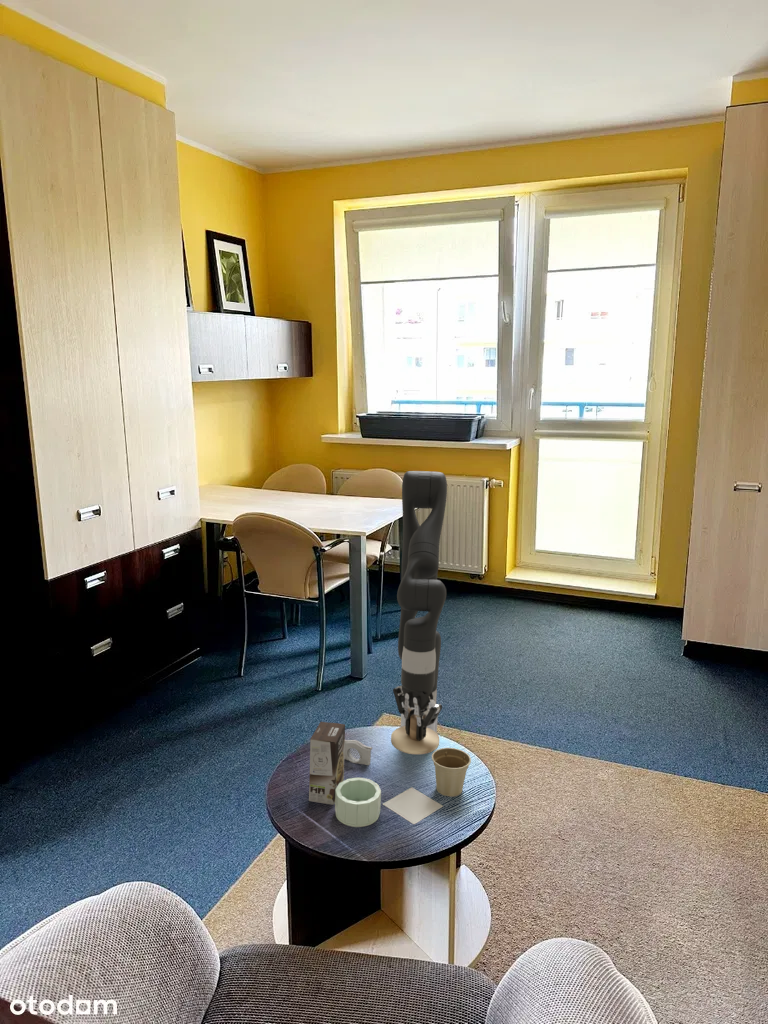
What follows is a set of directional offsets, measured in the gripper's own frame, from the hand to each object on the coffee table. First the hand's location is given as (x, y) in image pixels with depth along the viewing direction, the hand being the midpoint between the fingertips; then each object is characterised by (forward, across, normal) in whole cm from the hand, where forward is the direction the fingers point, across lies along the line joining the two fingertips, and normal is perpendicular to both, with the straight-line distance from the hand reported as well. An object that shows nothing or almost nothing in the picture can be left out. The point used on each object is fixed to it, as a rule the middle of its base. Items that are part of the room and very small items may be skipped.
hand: (415, 735), depth 158 cm
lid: (+1, 0, 0) cm, 1 cm away
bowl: (+18, +6, +12) cm, 22 cm away
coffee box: (+18, +17, +12) cm, 28 cm away
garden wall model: (+18, +24, -2) cm, 31 cm away
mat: (+18, 0, 0) cm, 18 cm away
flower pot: (+18, -1, -12) cm, 22 cm away
